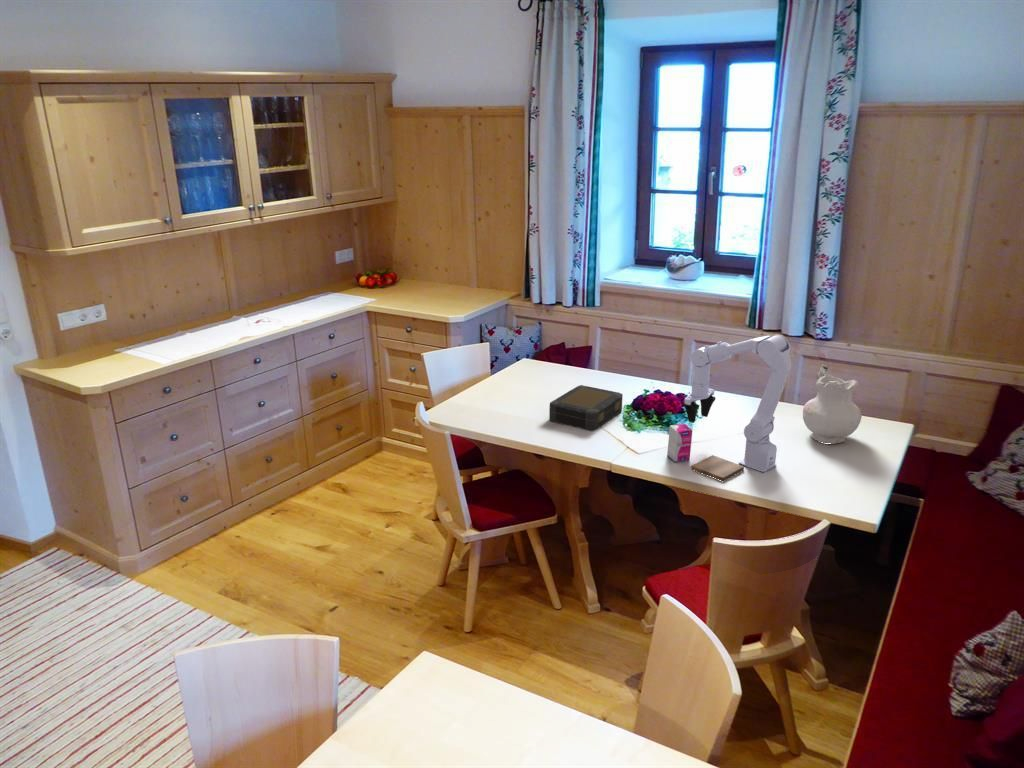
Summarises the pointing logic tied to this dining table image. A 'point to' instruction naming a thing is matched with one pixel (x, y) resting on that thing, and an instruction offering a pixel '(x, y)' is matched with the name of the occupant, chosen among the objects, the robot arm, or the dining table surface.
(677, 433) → the supplement box
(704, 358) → the robot arm
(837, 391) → the ceramic pitcher
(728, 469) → the cardboard square
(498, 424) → the dining table surface
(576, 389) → the cash box
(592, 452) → the dining table surface
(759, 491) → the dining table surface
